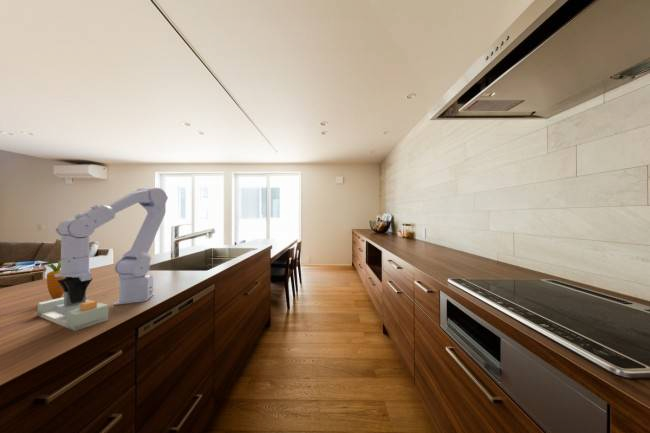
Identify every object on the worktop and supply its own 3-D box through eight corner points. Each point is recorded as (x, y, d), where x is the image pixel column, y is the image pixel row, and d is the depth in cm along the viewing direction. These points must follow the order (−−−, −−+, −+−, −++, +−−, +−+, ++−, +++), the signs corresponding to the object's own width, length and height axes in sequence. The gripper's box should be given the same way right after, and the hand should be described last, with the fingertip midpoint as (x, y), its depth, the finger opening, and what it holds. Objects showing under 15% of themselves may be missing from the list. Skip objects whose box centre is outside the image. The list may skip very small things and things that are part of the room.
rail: (37, 315, 68) (37, 301, 68) (69, 307, 75) (70, 294, 75) (74, 330, 59) (75, 314, 59) (108, 319, 65) (108, 305, 65)
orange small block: (79, 317, 62) (79, 303, 62) (92, 313, 65) (92, 300, 65) (84, 318, 61) (84, 304, 61) (96, 314, 64) (96, 301, 64)
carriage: (55, 312, 65) (55, 292, 65) (84, 304, 70) (84, 286, 70) (64, 315, 62) (65, 294, 62) (93, 307, 68) (93, 288, 68)
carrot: (51, 304, 78) (52, 262, 78) (42, 303, 79) (42, 262, 79) (70, 299, 82) (70, 260, 83) (61, 298, 83) (61, 259, 84)
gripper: (45, 258, 65) (44, 302, 65) (66, 261, 60) (66, 310, 60) (78, 254, 72) (78, 295, 72) (100, 257, 66) (100, 301, 66)
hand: (75, 301), depth 66 cm, fingers closed on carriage, 2 cm apart
